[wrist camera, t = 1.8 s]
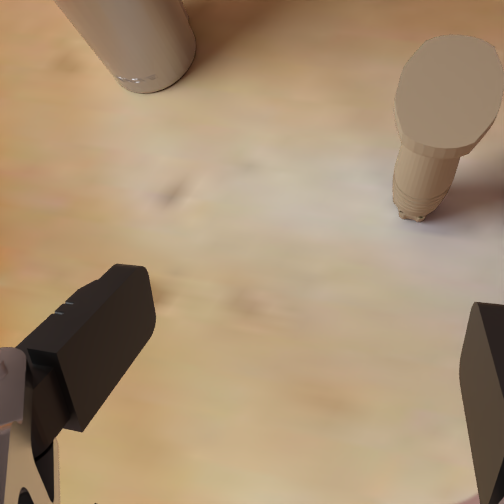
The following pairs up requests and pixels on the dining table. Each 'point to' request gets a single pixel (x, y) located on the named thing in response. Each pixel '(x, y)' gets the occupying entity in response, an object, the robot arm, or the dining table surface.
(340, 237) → the dining table surface
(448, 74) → the handle
